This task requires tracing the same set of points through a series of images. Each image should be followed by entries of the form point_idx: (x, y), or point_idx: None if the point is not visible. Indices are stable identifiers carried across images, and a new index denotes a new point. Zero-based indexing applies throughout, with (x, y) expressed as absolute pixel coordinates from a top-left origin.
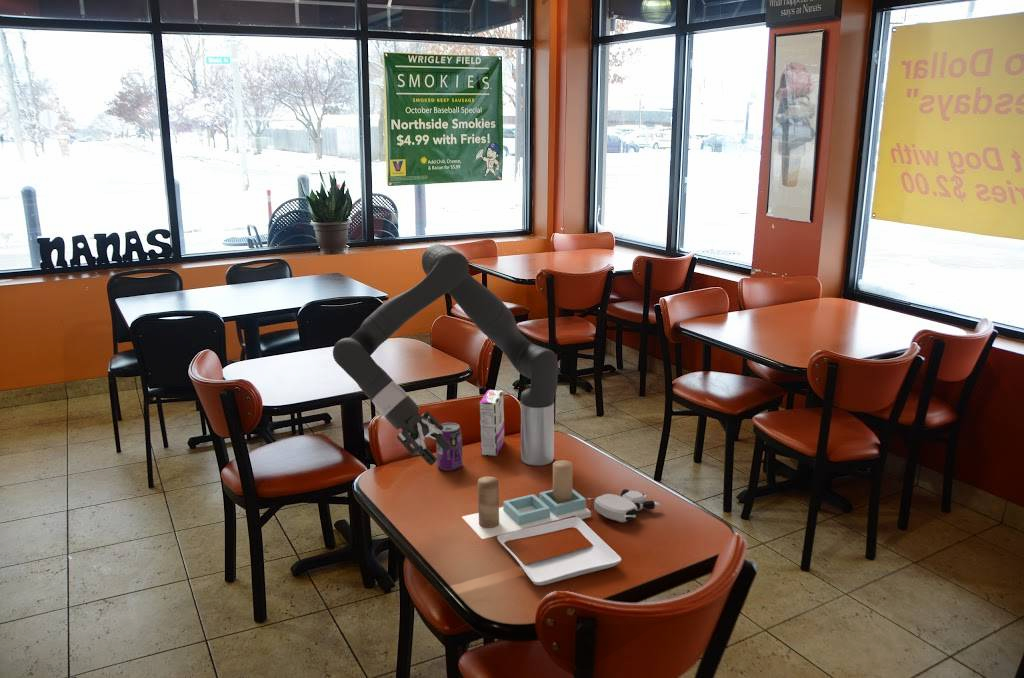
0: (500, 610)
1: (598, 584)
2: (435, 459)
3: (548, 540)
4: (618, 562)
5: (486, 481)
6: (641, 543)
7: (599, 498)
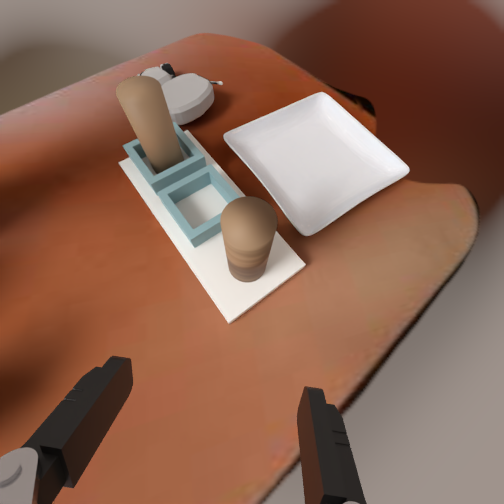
0: (454, 213)
1: None
2: (323, 392)
3: None
4: (326, 96)
5: (254, 223)
6: (251, 90)
7: (172, 105)
